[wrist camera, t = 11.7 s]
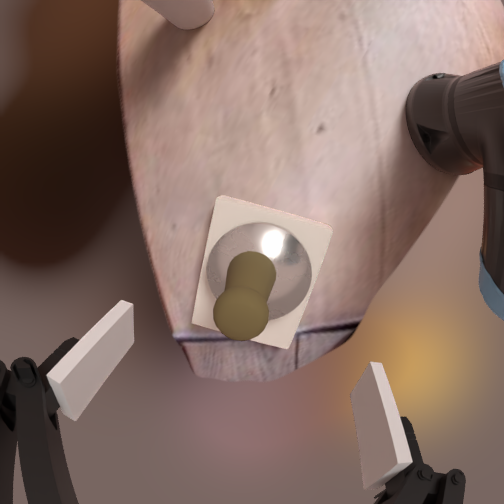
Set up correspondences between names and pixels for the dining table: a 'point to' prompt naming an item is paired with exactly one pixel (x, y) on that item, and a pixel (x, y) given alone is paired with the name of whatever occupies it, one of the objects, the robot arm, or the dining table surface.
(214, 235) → the scale base
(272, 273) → the cork
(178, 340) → the dining table surface
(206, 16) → the coffee cup
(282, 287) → the pan
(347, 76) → the dining table surface
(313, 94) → the dining table surface
